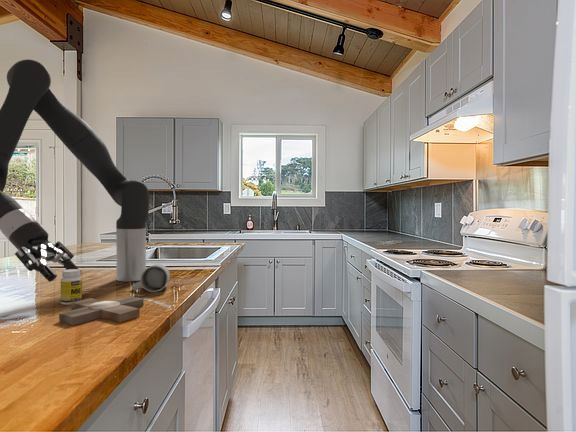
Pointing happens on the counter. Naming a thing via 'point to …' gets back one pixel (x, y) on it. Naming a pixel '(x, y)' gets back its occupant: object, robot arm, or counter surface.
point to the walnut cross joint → (102, 310)
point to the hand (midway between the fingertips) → (65, 275)
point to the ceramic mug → (153, 278)
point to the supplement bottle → (71, 286)
